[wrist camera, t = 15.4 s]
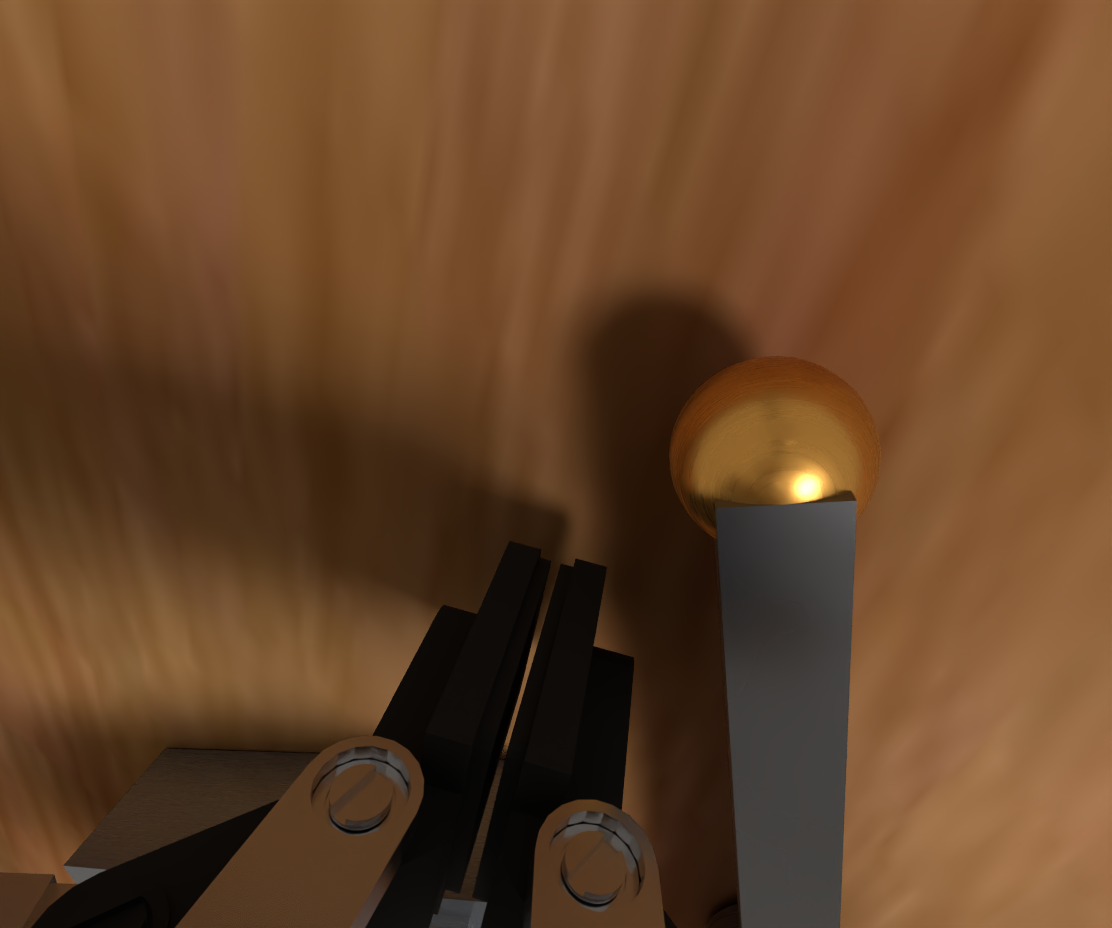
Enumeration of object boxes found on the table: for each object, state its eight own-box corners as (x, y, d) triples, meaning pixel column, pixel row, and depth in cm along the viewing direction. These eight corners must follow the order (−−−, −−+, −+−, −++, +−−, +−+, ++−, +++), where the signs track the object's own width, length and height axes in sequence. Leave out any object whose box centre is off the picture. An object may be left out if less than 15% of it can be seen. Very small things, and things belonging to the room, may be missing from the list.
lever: (643, 333, 9) (622, 440, 6) (864, 307, 9) (994, 411, 5) (708, 971, 16) (717, 1206, 12) (837, 984, 15) (885, 1237, 12)
